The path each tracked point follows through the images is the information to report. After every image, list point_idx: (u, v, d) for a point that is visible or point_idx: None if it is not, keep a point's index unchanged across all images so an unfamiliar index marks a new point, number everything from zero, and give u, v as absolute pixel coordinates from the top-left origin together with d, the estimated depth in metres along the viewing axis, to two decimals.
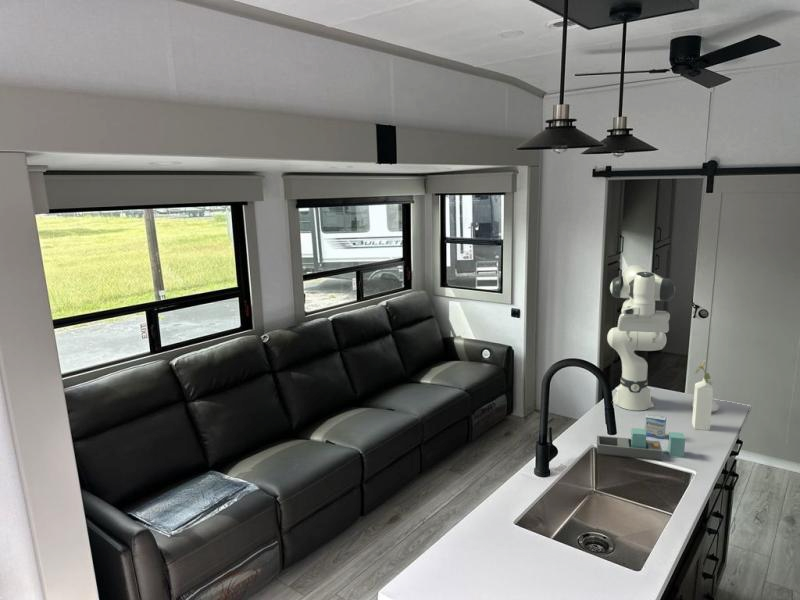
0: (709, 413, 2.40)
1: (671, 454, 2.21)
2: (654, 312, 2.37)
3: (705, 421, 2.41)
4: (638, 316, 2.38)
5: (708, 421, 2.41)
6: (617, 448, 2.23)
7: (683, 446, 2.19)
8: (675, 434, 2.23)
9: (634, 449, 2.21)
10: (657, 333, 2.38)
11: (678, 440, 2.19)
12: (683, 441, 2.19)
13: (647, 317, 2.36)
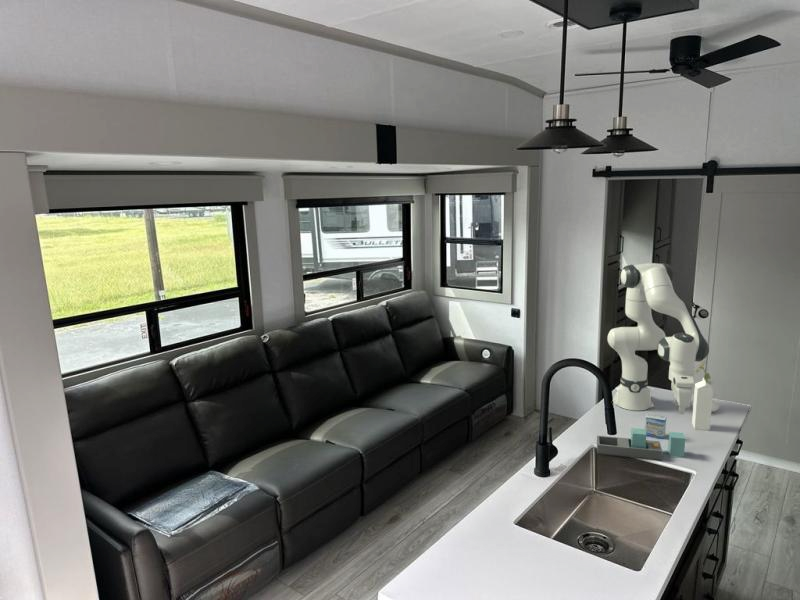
0: (709, 413, 2.40)
1: (671, 454, 2.21)
2: None
3: (705, 421, 2.41)
4: None
5: (708, 421, 2.41)
6: (617, 448, 2.23)
7: (683, 446, 2.19)
8: (675, 434, 2.23)
9: (634, 449, 2.21)
10: None
11: (679, 440, 2.19)
12: (683, 441, 2.19)
13: None
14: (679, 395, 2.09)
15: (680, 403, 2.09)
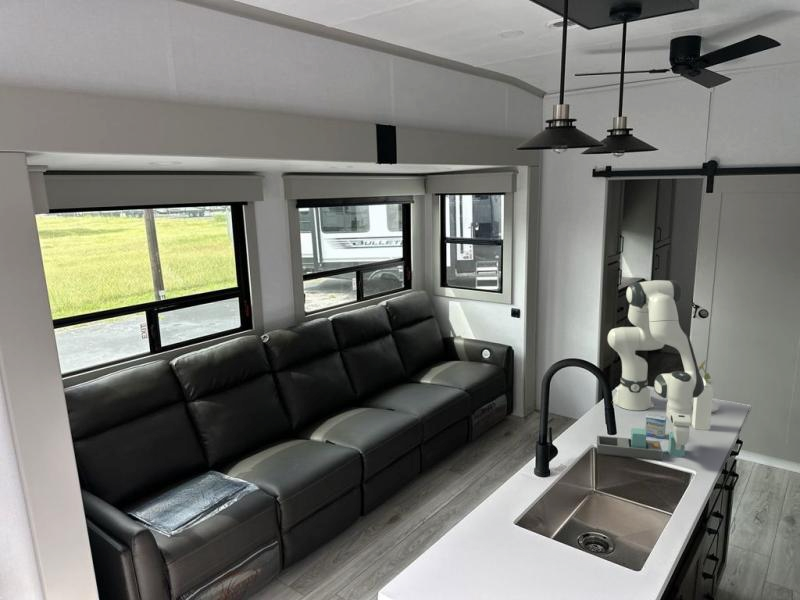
0: (709, 413, 2.40)
1: (671, 454, 2.21)
2: None
3: (705, 421, 2.41)
4: None
5: (708, 421, 2.41)
6: (617, 448, 2.23)
7: (683, 446, 2.19)
8: None
9: (634, 449, 2.21)
10: None
11: None
12: None
13: None
14: (676, 433, 2.12)
15: (677, 441, 2.12)
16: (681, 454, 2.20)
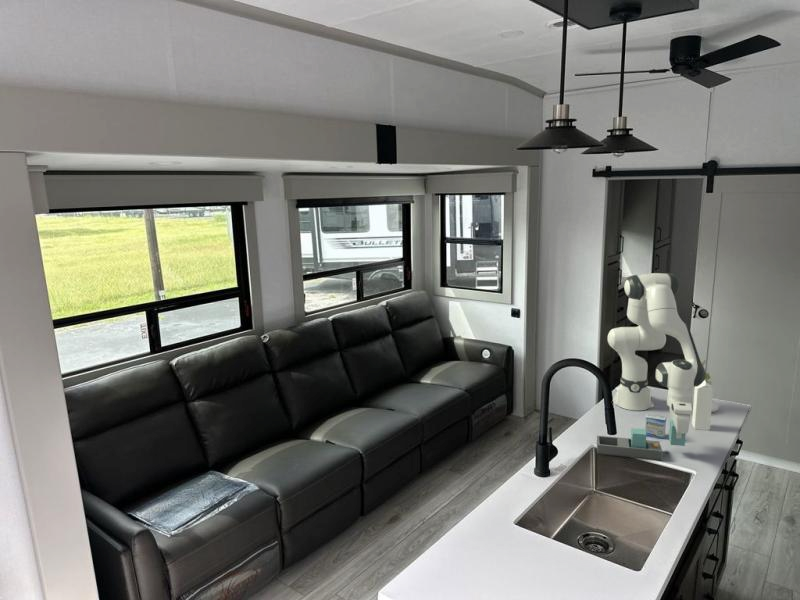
0: (709, 413, 2.40)
1: (672, 443, 2.21)
2: None
3: (705, 421, 2.41)
4: None
5: (708, 421, 2.41)
6: (617, 448, 2.23)
7: (684, 435, 2.19)
8: None
9: (634, 449, 2.21)
10: None
11: None
12: None
13: None
14: (677, 422, 2.11)
15: (678, 430, 2.11)
16: (682, 443, 2.19)
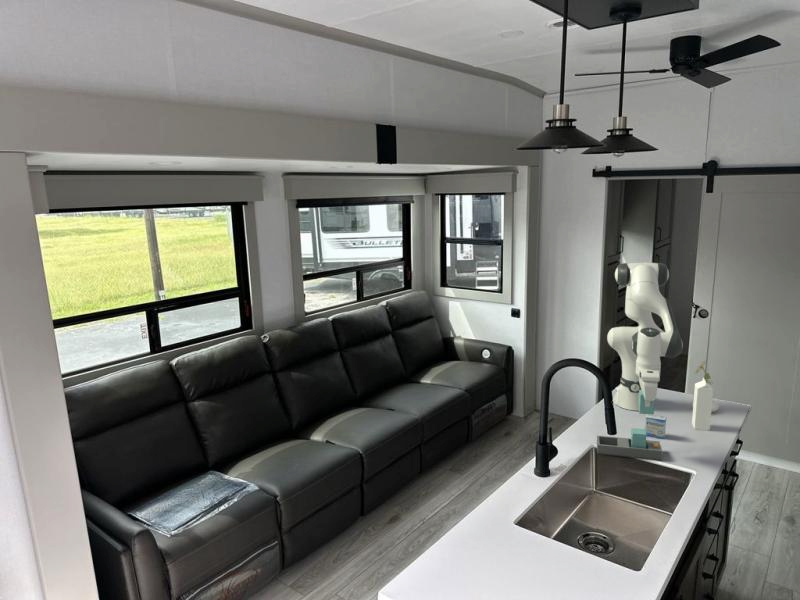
0: (709, 413, 2.40)
1: (641, 412, 2.20)
2: None
3: (705, 421, 2.41)
4: None
5: (708, 421, 2.41)
6: (617, 448, 2.23)
7: (652, 403, 2.18)
8: None
9: (634, 449, 2.21)
10: None
11: None
12: None
13: None
14: (645, 389, 2.11)
15: (646, 397, 2.11)
16: (650, 411, 2.19)
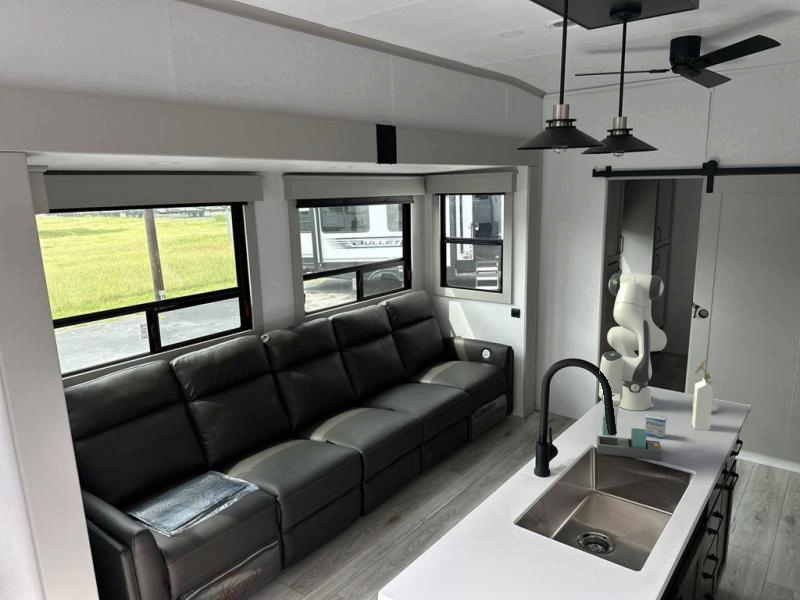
0: (709, 413, 2.40)
1: (604, 433, 2.25)
2: None
3: (705, 421, 2.41)
4: None
5: (708, 421, 2.41)
6: (617, 448, 2.23)
7: None
8: None
9: (634, 449, 2.21)
10: None
11: None
12: None
13: None
14: None
15: None
16: None
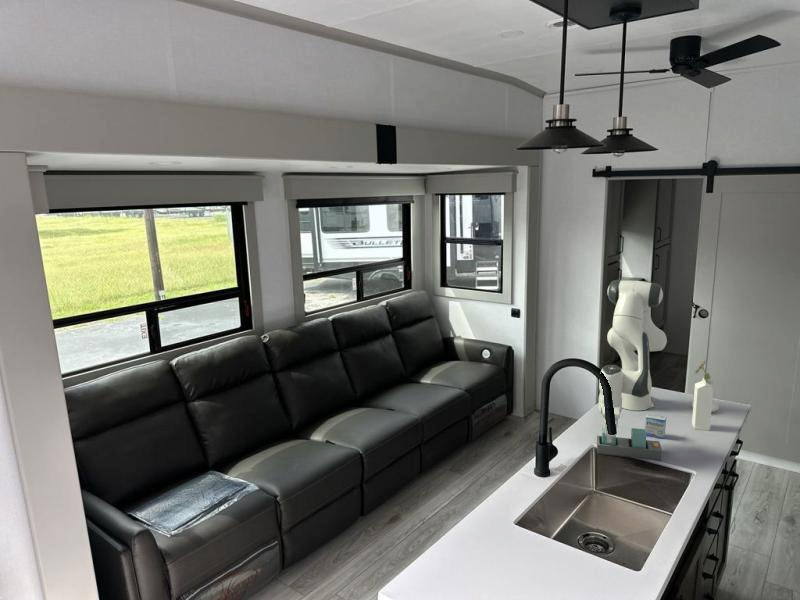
0: (709, 413, 2.40)
1: None
2: None
3: (705, 421, 2.41)
4: None
5: (708, 421, 2.41)
6: (617, 448, 2.23)
7: (614, 441, 2.24)
8: None
9: (634, 449, 2.21)
10: None
11: None
12: None
13: None
14: (605, 426, 2.17)
15: (606, 433, 2.17)
16: None
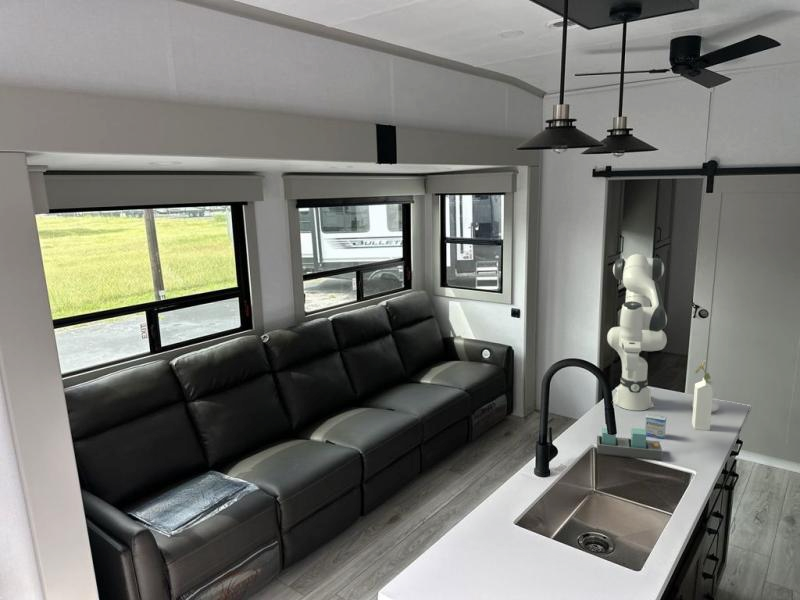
0: (709, 413, 2.40)
1: None
2: None
3: (705, 421, 2.41)
4: None
5: (708, 421, 2.41)
6: (617, 448, 2.23)
7: (614, 441, 2.24)
8: None
9: (634, 449, 2.21)
10: None
11: (610, 435, 2.24)
12: (614, 436, 2.24)
13: None
14: (627, 359, 2.21)
15: (627, 367, 2.21)
16: None
